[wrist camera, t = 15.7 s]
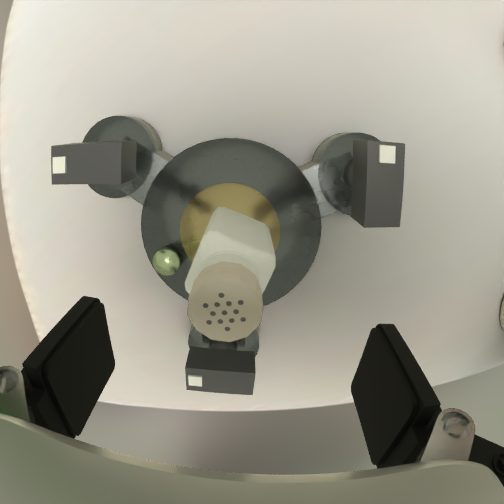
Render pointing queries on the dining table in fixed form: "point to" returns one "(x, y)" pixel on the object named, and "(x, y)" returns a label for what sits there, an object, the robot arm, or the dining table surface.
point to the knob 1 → (94, 162)
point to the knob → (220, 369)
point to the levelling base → (229, 200)
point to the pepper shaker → (230, 276)
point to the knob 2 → (376, 182)
